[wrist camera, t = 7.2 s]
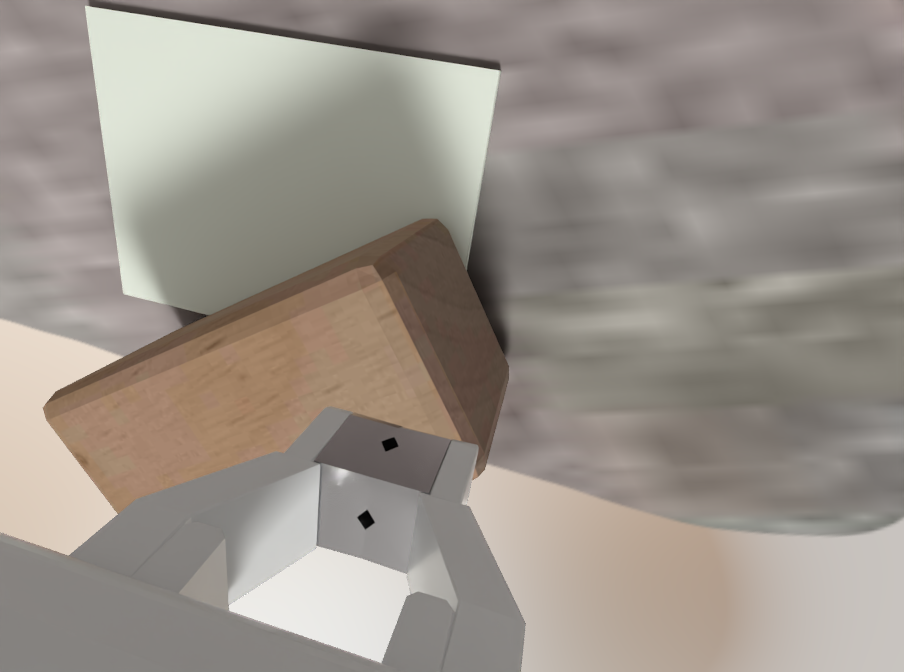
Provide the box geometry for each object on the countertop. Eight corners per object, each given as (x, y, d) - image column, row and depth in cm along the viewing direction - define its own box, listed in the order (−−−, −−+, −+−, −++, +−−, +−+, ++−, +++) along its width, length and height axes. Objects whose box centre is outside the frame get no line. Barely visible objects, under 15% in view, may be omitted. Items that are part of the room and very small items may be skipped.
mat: (501, 71, 23) (500, 70, 22) (449, 372, 29) (447, 375, 29) (91, 7, 26) (84, 5, 26) (128, 292, 33) (123, 294, 32)
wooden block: (372, 252, 16) (23, 407, 23) (490, 490, 19) (144, 565, 26) (444, 207, 25) (176, 329, 32) (517, 373, 28) (255, 452, 35)
